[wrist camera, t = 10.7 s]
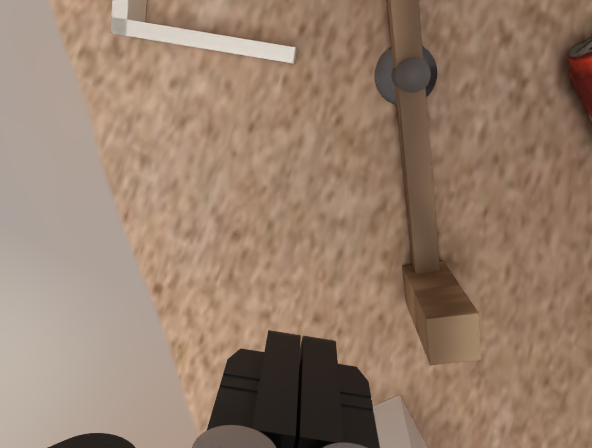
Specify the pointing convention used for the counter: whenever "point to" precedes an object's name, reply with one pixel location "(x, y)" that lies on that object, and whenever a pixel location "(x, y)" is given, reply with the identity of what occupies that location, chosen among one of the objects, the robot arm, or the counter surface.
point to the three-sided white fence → (190, 34)
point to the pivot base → (385, 75)
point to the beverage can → (582, 73)
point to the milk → (396, 425)
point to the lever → (425, 207)
